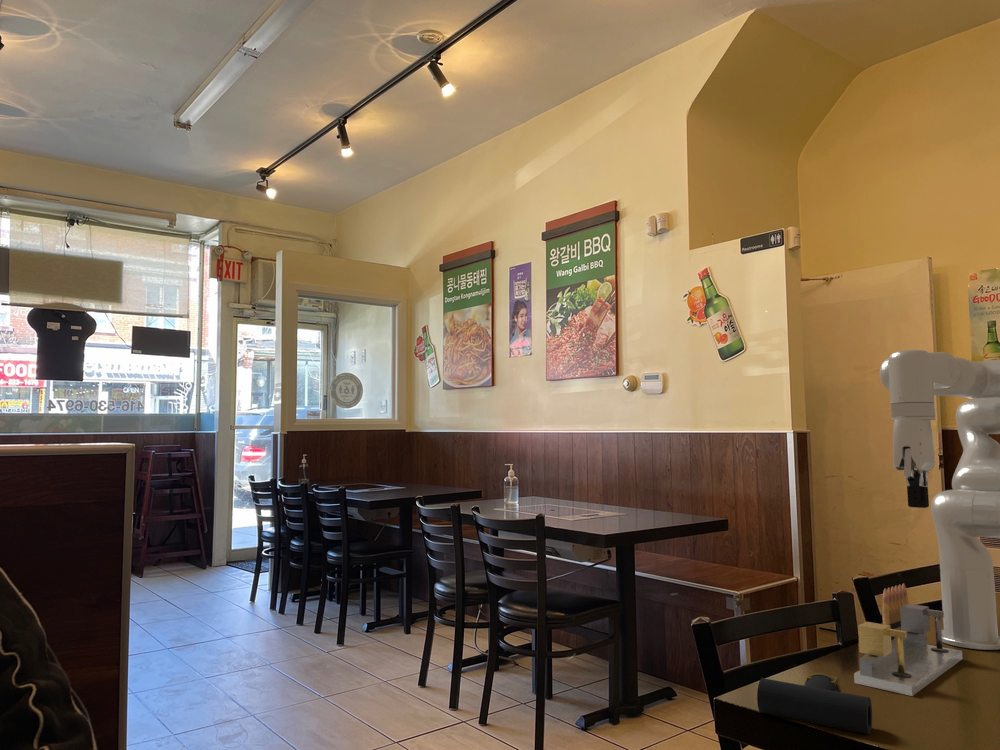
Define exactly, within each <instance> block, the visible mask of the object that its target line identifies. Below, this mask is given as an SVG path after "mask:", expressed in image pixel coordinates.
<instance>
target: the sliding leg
mask: <svg viewBox="0 0 1000 750" xmlns="http://www.w3.org/2000/svg"><path fill="white" fill-rule="evenodd" d="M857 629H858V630H857V633H858V649H859V650H858V651H859V653H861V654H865V655H866V654H871V655H876V656H881V657H885V656H887V655H888V654H890V653H892V645H891V636H894V637H896V644H897V661H898V673H901V674H905V668H904V651H903V638H907V633H906V631H901V630H895V629H891V627H890V625H884V624H881V623H877V622H871V621H864V622H862V623H860V624H858V625H857Z"/></svg>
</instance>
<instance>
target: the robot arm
mask: <svg viewBox="0 0 1000 750" xmlns="http://www.w3.org/2000/svg"><path fill="white" fill-rule="evenodd" d="M879 378H880V382H881V384H882V385H883V387H884V388H886V390H888V391H889V398H890V401H889V402H890V415H891V421H893V427H892V428H893V429H892V432H893V433H892V462H893V463H892V467H893V469H894V470H896V471H904V472H903V474H904V477H905V482H906V492H907V494H906V495H907V506H908V507H909V508H919V509H926V508H929V506H930V511H931V512H930V513H931V517H932V521H933V525H934V528H935V534H936V539H937V545H938V554H939V555H938V556H939V557H938V558H939V560H938V561H939V570H940V571H939V574H940V587H941V590H940V591H941V604H942V605H941V606H942V607H941V609H942V611H944V617H943V618H942V621H943V629H941V630H942V643H944V644H947V645H951V646H955V647H958V648H965V649H971V650H980V651H982V650H984V651H998V650H1000V635H999V630H998V617H997V614H998V613H997V602H996V601H997V600H996V589H995V588H996V587H995V586H996V585H995V573H994V560H993V557H992V555H991V553H990V551H989V550H988V548H987V547H986V546H985V545H984V544H983V542H982V541H981V540H980V539H979V538H995V539H1000V443H999V442H998V441H997V440H995V439H994V438H992V436H989V435H1000V359H994V360H990V359H989V360H981V361H980V360H979V361H978V360H977V361H974V360H969V359H965V358H962V357H958V356H957V357H956V356H953V354H951V353H948V352H945V351H935V352H934V351H932V352H929V351H927V350H923V349H906V350H899V351H898V350H897V351H894V352H892V353H891V354H890V355H889V356H888V357H887V358H885V359H884V361H882V363H881V365H880V367H879ZM935 396H937V397H938V396H939V397H940V396H941V397H946V396H948V397H957V398H963V399H964V398H965V399H969V400H965V401H964V402H962V403H961V404H959V405H958V407H957V409H956V412H955V423H956V429H957V433H958V437H959V440H960V444H961V446H962V455H961V456H960V458H959V461H958V464H957V465H956V467H955V471H954V473H953V476H952V479H951V488H952V489H946V490H943V491H939V492H938V493H937V494H935V495H934V496H933V497H932V499H931V504H930V500H929V498H930V497H929V487H928V486H929V485H928V484H929V482H928V481H929V480H928V479H929V477H928V476H929V471H931V470H932V469H934V468H935V464H936V463H935V445H934V436H933V429H932V422H931V421H936V407H935V406H936V405H935Z"/></svg>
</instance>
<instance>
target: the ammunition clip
mask: <svg viewBox="0 0 1000 750" xmlns="http://www.w3.org/2000/svg"><path fill="white" fill-rule="evenodd" d="M905 604H910V603H909V597H908V591H907V587H906V584H905V583H904V582H903V583H902V585H901V584H898V585H895V586H891V587H887V588H884V589H883V593H882V609H881V611H882V612H881V613H882V615H881V616H882V621H881V623H880V624H884V625H890V627H891V629H895V630H901V617H900V606H902V605H905ZM906 633H907V631H906ZM894 639H896V637H894V636H891V641H892V640H894Z"/></svg>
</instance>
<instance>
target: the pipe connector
mask: <svg viewBox="0 0 1000 750" xmlns="http://www.w3.org/2000/svg"><path fill="white" fill-rule="evenodd" d="M839 679H840V678H839V676H835V675H829V674H827V673H824V672H812V671H811V673H809V675H808V676H807V678H806V680H805V683H804V685H802V684H797V683H792V682H788V681H780V680H776V679H770V678H766V677H765V678H764V677H761V678H760V679H759V682H758V685H757V692H756V693H757V694H756V700H757V702H756V703H757V704H756V705H757V709H758V711H759V713H762V714H766V713H767V715H771V714H772V716H776V715H777V716H776V717H780V716H781V717H782V718H785V717H786V718H785V719H789V720H790V719H791V720H795V719H796V720H797V721H800V720H801V722H806V723H810V724H815V725H820V726H825V727H828V728H834V729H838V728H839V730H844V731H848V732H854V733H859V734H863V735H870V734H871V732H872V729H873V707H872V700H871V697H869V696H863V695H858V694H852V693H846V692H842V688H841V686H840V681H839ZM781 717H780V718H781Z"/></svg>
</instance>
